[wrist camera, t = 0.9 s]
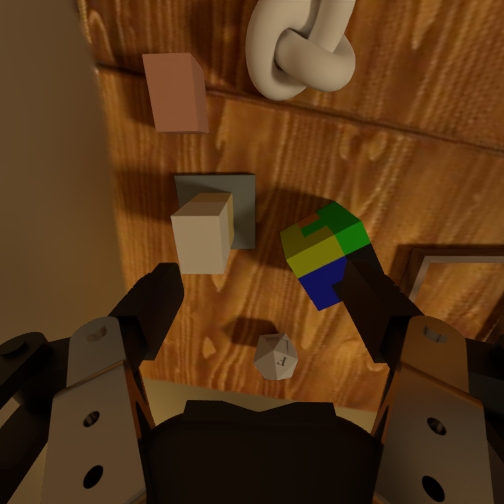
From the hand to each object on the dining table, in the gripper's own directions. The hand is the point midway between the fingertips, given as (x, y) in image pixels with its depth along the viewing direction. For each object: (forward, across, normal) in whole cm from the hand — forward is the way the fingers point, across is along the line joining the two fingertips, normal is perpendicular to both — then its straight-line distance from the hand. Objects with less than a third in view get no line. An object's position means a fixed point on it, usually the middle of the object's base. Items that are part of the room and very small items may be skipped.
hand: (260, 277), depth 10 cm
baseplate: (+26, +7, +5) cm, 27 cm away
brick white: (+18, +7, +4) cm, 20 cm away
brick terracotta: (+26, +10, -10) cm, 30 cm away
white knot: (+26, -5, -14) cm, 31 cm away
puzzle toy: (+26, -10, +10) cm, 29 cm away
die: (+25, -2, +33) cm, 42 cm away
